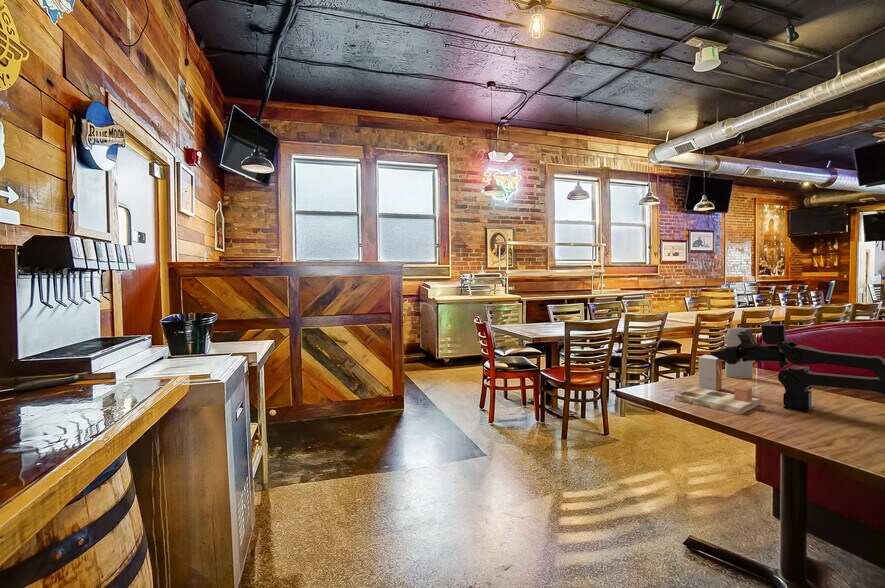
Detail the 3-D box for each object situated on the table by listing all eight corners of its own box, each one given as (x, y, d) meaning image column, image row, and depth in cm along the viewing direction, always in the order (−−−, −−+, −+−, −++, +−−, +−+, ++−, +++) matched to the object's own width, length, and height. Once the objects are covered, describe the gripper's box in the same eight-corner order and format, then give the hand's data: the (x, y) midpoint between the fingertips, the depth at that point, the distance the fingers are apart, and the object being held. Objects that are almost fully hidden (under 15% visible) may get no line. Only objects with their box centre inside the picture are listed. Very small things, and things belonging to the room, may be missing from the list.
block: (751, 399, 149) (751, 388, 149) (747, 401, 147) (747, 390, 147) (738, 397, 153) (738, 385, 152) (734, 399, 150) (734, 387, 150)
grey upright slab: (752, 377, 187) (753, 327, 186) (754, 379, 183) (754, 328, 182) (723, 375, 192) (724, 326, 191) (724, 377, 188) (724, 327, 187)
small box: (716, 392, 165) (716, 359, 165) (698, 389, 170) (698, 357, 169) (722, 388, 171) (722, 356, 170) (704, 385, 176) (704, 354, 175)
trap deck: (759, 404, 150) (759, 399, 149) (740, 414, 140) (740, 408, 140) (695, 392, 167) (695, 387, 167) (674, 399, 158) (674, 394, 158)
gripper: (771, 328, 157) (724, 328, 170) (751, 333, 146) (702, 333, 159) (774, 358, 157) (726, 357, 170) (754, 365, 146) (705, 363, 159)
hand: (715, 352), depth 164 cm, fingers open, 9 cm apart
